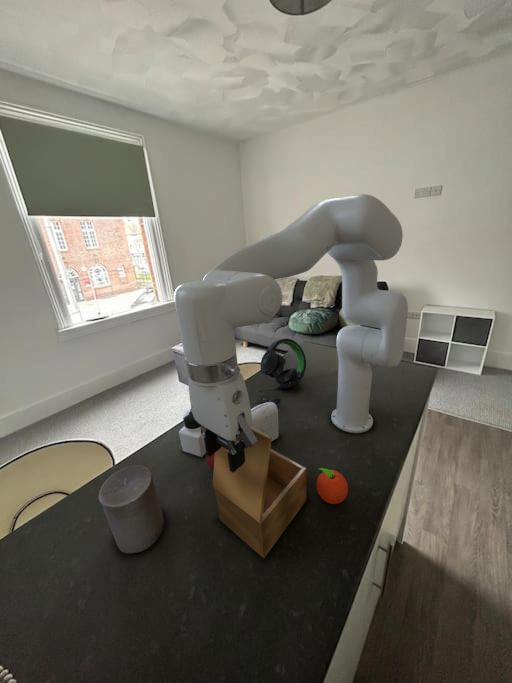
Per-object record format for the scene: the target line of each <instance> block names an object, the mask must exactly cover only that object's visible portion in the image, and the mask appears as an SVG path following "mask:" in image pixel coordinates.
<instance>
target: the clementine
mask: <svg viewBox="0 0 512 683" xmlns="http://www.w3.org/2000/svg"><path fill="white" fill-rule="evenodd" d="M319 470H320V471H321V473H320V474H319V475H318V477H317V478H316V483H315V487H316V491H317V493H318V496H319V497H320V498H321V499H322V500H323V501H324V502H325V503H328V504H330V505H338V504H340V503H342V502H344V501H345V499H346V498H347V495H348V492H349V486H348V482H347V479H346V478H345V476H344V475H343V474H342V473H341V472H339V471H337V470H334V469H328V468H325V467H320V468H318V469H317V471H319Z"/></svg>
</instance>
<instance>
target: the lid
mask: <svg viewBox="0 0 512 683" xmlns="http://www.w3.org/2000/svg"><path fill="white" fill-rule="evenodd" d="M251 430H252V432H253V433H254V435H255V437H256V438H257V442H256V443H255V444H254V445H253V446H252V447H248V448H244V452H245V462H244V464H243V465H242V466H241V467H239V468H238V469H237V470H236V471H235V472H231V471H230V468H229V461H228V452H229V451H230V450H229V447H228V444H227V442H226V439H224V438H223V437H221V436H219V435H217V434H216V435H215V436H214V442H216V443H217V444H219V445H221V446H222V447H221V448H220V449H219V450H218V451H216V452H215V459H214V469H213V474H212V487H213V488H215V489H217V490H218V491H219V492H220V493H222V494H223V495H224V496H226V497H227V498H228V499H229V500H231V501H232V502H233V503H235V504H236V505H237V506H238V507H240V508H241V509H242V510H243V511H245V512H246V513H247V514H249V515H250V516H251V517H252V518H254V519H255V520H256V521H258V522H259V523H260V522H261V521H262V517H263V509H264V500H265V491H266V483H267V474H268V466H269V457H270V449H272V448H271V447H272V441H271V440H272V437H271V436H269V435H267V434H265V433H263V432H261V431H259V430H257V429H255V428H253V427H251ZM238 441H239V440H238V437H237V436H236V440H235V441H234V443H235V444H236V443H237V442H238ZM215 489H214V490H215Z"/></svg>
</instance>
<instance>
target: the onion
mask: <svg viewBox="0 0 512 683" xmlns="http://www.w3.org/2000/svg"><path fill="white" fill-rule="evenodd" d="M214 459H215V453H214V454H213V455H212V456H208V455H207V454H206V459H205V460H206V463H207V466H208V467H209V468H211V469H212V470H214Z"/></svg>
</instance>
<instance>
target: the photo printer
mask: <svg viewBox="0 0 512 683" xmlns="http://www.w3.org/2000/svg"><path fill="white" fill-rule="evenodd" d="M276 405H277V403H273V402H268V403H263V404H262V403H260V404H258V405H256V406H254V407H253V408H251V414H252V427H253V428H255V429H257V430H259V431H261V432H263V433H265V434H267V435H269V436H271V437H272V440H271V442H273V441H275V440H276V439H278V438H279V435H280V430H279V427H280V426H279V409H278V406H276Z"/></svg>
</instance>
